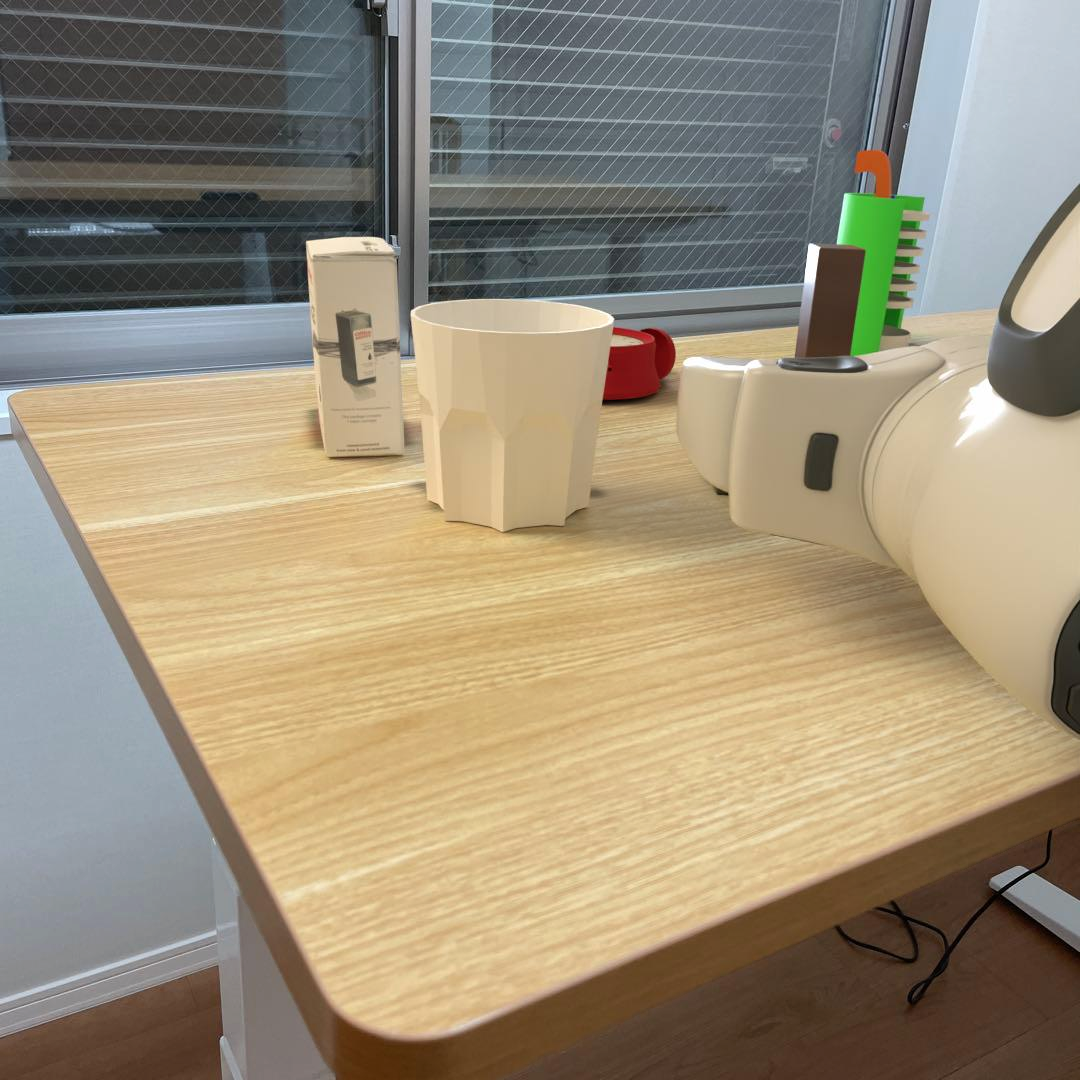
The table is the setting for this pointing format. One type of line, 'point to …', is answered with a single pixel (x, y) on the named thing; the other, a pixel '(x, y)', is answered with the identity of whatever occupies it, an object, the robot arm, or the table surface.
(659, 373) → the alarm clock
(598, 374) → the cup
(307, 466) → the table surface
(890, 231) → the green hooked bin
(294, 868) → the table surface
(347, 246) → the ink box
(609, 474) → the table surface
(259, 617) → the table surface
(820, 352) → the eraser
